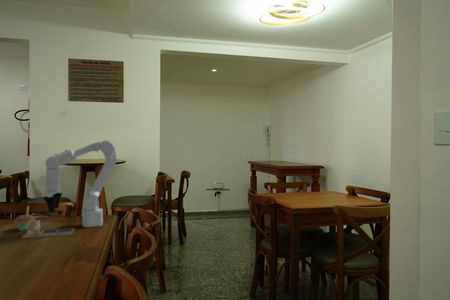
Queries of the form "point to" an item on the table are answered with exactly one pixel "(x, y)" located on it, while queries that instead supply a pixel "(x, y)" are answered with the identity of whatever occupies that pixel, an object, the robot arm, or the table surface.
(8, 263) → the table surface
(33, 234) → the beech block
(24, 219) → the cupcake
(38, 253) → the table surface
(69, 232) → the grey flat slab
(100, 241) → the table surface
